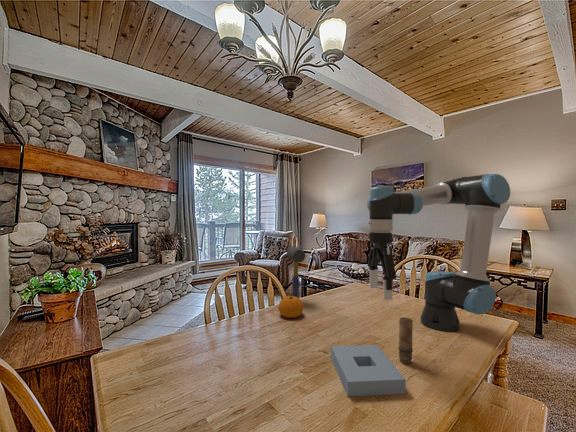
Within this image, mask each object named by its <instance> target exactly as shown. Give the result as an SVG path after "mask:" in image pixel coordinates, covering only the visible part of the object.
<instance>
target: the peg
mask: <svg viewBox="0 0 576 432" xmlns="http://www.w3.org/2000/svg"><path fill="white" fill-rule="evenodd" d="M398 321H399V326H398V327H399V331H398V335H399V336H398V339H399V342H398V358H399V362H400V364H403V365H407V366H408V365H411V364H412V360H413V351H414V349H413V319H412V318H410V317H404V316H403V317H400V318H399V319H398Z"/></svg>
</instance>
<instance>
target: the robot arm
mask: <svg viewBox="0 0 576 432" xmlns="http://www.w3.org/2000/svg"><path fill="white" fill-rule="evenodd" d="M510 197H511V187H510V184H509V182H508V180H507V179H506V177H505V176H503V175H501V174H498V173H485V174H479V175H471V176H470V175H469V176H461V177H458V178H457V177H456V178H454V179H450V180H446V181H441V182H438V183H437V184H435V185H432V186H426V187H421V188H414V189H407V190H402V191H395V192H394V189H393V187H392V186H386V185H385V186H383V185H382V186H372V187H371V188H370V190H369V198H368V199H367V202H366V203H367V204H366V207H367V210H368V211H369V221H368V223H367V225H369V230H370V232H368V233H369V236H368V237H369V243H370V250H369V255H368V261H367V267H368V270H369V288H370V289H378V280H379V279H378V278H379V277H378V275H379V274H378V273H379V271H378V270H379V267H378V266H379V263H380V265H381V269H382V272H383V276H384V277H382V281H383V282H382V283H383V294H382V296H383V298H382V300H385V301H386V300H387V301H389V300H391V301H392V300H393V295H394V294H393V291H394V290H393V287H394V286H393V283H394V282H393V281H394V280H396V279H397V275H396V269H395V263H394V259H393V249H392V247H388V245H391V244H392V243H393V233H392V231H394V229H393V223H394V221H393V220H394V219H393V217H394V216H393V215H410V216H411V215H416V214H419V213H420V212H421V211H422V209H423V207H425V206H426V207H427V206H430V205H436V204H438V205H442V206H443V205H448V204H449V205H464V208H465V209H466V210H467V211H468V212H467V213H468V215H467V219H466V226H465V227H466V228H465V235H464V242H463V249H462V253H461V254H462V255H461V261H460V266H459V271H456V272H455V271H447V270H446V271H445V270H439V271H438V270H436V271H435V270H434V271H429V272H427V273H426V274H425V280H424V306H423V309H422V310H421V311H422V312H421V315H420V323H421V324H422V325H424V326H425V327H427V328H429V329H433V330H437V331H441V332H442V331H444V332H455V331H458V330H459V329H460V328H461V327H460V320H459V317H458V313H457V309H461V310H464V311H466V312H467V313H472V314H475V315H484V314H486V313H488V312H489V311H490V310H491V309H492V308H493V306H494V304H495V302H496V298H497V297H496V294H497V293H496V291H495V288H493V287H492V286H491V285H490V282H491V281H490V279H489V278H488V276H487V269H488V261H489V253H490V248H491V241H492V233H493V228H494V221H495V215H496V213H498V212H500V210H501V205H504V204H506V203H507V202H508V201H509V200H510ZM456 308H457V309H456Z"/></svg>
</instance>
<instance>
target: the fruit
mask: <svg viewBox="0 0 576 432" xmlns="http://www.w3.org/2000/svg"><path fill="white" fill-rule="evenodd" d="M278 312H279V313H280V315H281V316H283V317H284V318H287V319H288V318H289V319H294V318H298V317H300V316H302V314H303V312H304V304H303V302H302V300H301V299H300V297H299V298H298V297H295V296H293V294H290V295H288V296H285V297H283V298H282V299H281V300H280V302H279V303H278Z"/></svg>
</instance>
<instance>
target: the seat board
mask: <svg viewBox="0 0 576 432" xmlns="http://www.w3.org/2000/svg"><path fill="white" fill-rule="evenodd" d="M330 359H331V362H332V364H333V366H334V369H335V370H336V372H337V375H338V377H339V380H340V382H341V384H342V387H343V389H344V391H345V393H346V396H347V397H365V396H366V397H367V396H369V397H370V396H387V395H389V396H390V395H406V385H407V381H406V378H405V377H404V376H403V374H402V373H401V372H400V371H399V370H398V368H397V367H396V366H395V365H394V363H393V362H392V361H391V359H390V358H389V357H388V356H387V355H386V354H385V353H384V351H383V350H382V348H381V347H380V346H379V345H378V344H364V345H359V344H358V345H335V346H334V345H333V346H330Z"/></svg>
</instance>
